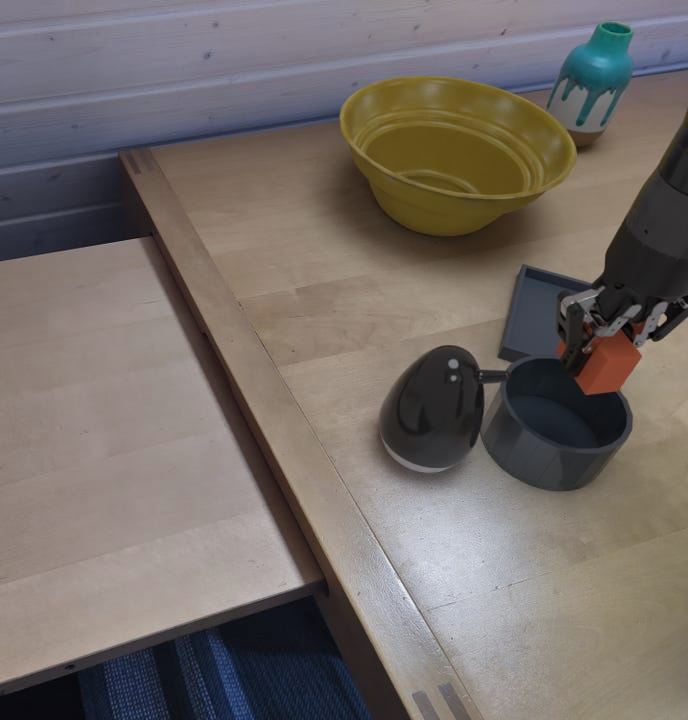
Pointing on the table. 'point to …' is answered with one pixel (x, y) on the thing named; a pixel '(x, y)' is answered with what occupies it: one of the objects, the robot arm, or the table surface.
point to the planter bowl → (453, 151)
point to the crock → (553, 426)
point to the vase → (593, 82)
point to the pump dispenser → (436, 409)
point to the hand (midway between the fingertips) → (588, 367)
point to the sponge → (607, 364)
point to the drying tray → (535, 313)
